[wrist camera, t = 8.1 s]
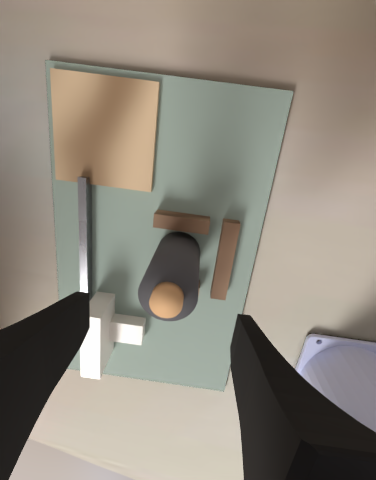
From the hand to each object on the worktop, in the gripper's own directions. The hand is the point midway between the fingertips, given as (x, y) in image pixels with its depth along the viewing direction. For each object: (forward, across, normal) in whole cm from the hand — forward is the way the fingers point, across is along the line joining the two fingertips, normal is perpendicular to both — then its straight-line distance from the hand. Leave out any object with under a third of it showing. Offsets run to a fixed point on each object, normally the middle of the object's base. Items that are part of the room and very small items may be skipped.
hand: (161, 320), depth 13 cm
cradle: (+9, -1, 0) cm, 9 cm away
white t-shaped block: (+9, +4, +8) cm, 12 cm away
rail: (+9, +7, +3) cm, 12 cm away
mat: (+9, +2, +1) cm, 9 cm away
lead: (+9, 0, 0) cm, 9 cm away
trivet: (+9, +6, -8) cm, 13 cm away
